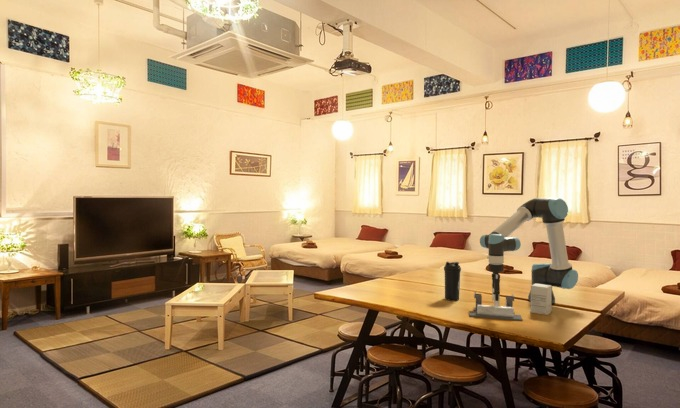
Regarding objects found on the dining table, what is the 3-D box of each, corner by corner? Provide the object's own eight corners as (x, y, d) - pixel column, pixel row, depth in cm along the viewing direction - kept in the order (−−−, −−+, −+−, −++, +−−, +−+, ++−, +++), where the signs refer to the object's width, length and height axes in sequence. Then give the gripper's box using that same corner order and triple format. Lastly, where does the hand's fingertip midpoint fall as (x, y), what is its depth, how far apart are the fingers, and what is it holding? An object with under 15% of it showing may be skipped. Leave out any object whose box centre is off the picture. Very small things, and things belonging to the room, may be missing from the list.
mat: (520, 316, 233) (520, 315, 233) (522, 320, 225) (522, 319, 225) (469, 312, 241) (469, 311, 241) (469, 316, 232) (469, 315, 232)
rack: (513, 311, 244) (513, 294, 244) (514, 314, 238) (514, 296, 238) (473, 308, 250) (473, 291, 250) (473, 310, 244) (474, 293, 244)
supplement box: (534, 309, 250) (535, 283, 249) (551, 312, 244) (552, 285, 244) (529, 312, 243) (530, 285, 242) (547, 315, 237) (547, 287, 237)
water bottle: (461, 301, 267) (461, 263, 266) (443, 300, 269) (444, 262, 268) (459, 297, 277) (460, 261, 276) (443, 296, 279) (443, 260, 278)
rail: (512, 315, 232) (513, 307, 232) (513, 317, 229) (513, 308, 228) (477, 312, 237) (477, 304, 237) (477, 314, 233) (477, 305, 233)
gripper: (487, 259, 245) (487, 297, 246) (489, 266, 221) (489, 308, 222) (501, 260, 243) (501, 298, 244) (505, 267, 219) (505, 309, 220)
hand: (495, 303), depth 233 cm, fingers open, 13 cm apart
